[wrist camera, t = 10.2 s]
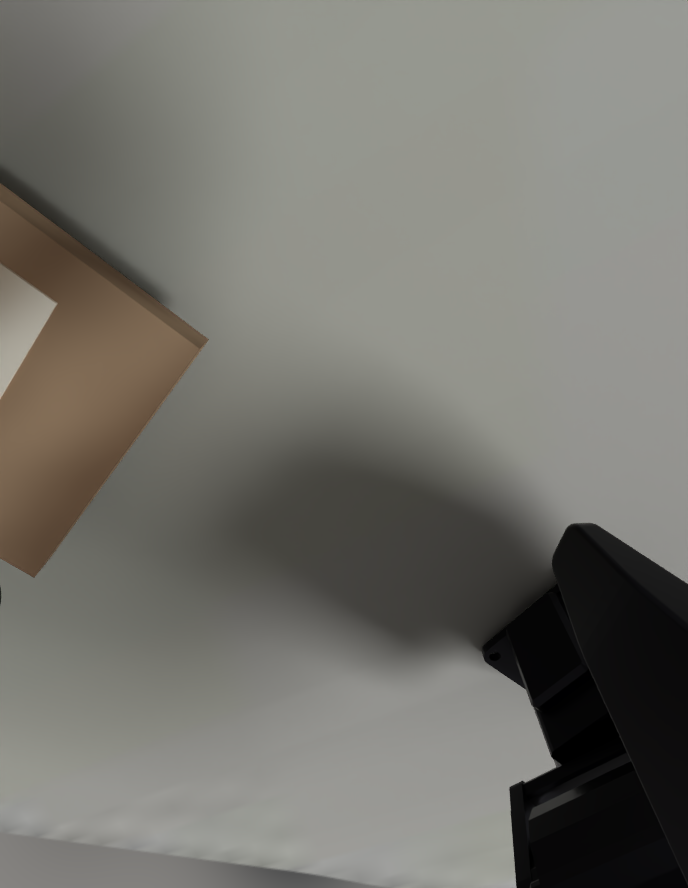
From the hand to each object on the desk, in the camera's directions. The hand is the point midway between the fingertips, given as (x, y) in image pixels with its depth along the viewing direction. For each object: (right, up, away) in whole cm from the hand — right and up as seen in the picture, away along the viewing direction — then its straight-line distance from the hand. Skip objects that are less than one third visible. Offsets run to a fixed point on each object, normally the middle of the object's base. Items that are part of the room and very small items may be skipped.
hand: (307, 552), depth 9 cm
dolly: (-12, +5, +11) cm, 17 cm away
